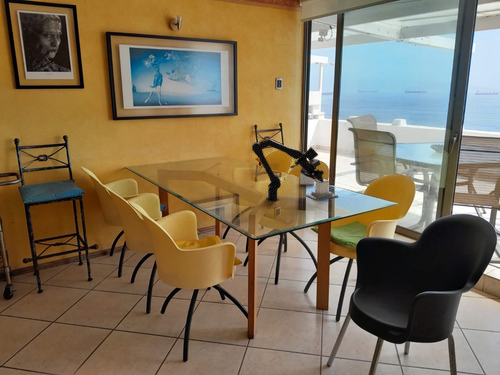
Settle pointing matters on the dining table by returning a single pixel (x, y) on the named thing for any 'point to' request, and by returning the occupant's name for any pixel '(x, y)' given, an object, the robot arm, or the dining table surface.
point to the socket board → (321, 195)
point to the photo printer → (306, 180)
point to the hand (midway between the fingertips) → (318, 180)
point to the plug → (322, 186)
